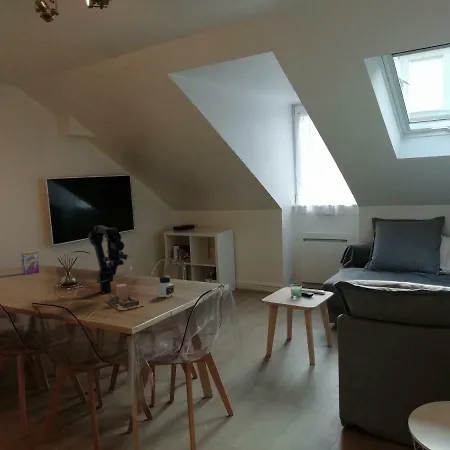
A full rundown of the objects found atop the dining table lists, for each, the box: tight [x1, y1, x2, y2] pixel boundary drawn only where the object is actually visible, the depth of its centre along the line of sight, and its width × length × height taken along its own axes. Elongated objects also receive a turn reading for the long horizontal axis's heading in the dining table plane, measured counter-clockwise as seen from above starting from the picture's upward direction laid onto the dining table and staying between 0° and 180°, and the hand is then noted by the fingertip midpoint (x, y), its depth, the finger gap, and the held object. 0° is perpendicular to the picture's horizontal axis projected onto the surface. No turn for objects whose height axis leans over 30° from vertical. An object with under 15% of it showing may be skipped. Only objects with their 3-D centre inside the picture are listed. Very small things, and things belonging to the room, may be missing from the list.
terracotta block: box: [115, 283, 129, 302], centre depth 258 cm, size 5×5×9 cm
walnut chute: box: [105, 293, 140, 309], centre depth 256 cm, size 24×14×4 cm, turn 32°
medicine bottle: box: [156, 275, 175, 295], centre depth 268 cm, size 7×7×12 cm
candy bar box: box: [20, 250, 40, 275], centre depth 349 cm, size 11×5×16 cm, turn 130°
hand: (114, 275), depth 271 cm, fingers closed
